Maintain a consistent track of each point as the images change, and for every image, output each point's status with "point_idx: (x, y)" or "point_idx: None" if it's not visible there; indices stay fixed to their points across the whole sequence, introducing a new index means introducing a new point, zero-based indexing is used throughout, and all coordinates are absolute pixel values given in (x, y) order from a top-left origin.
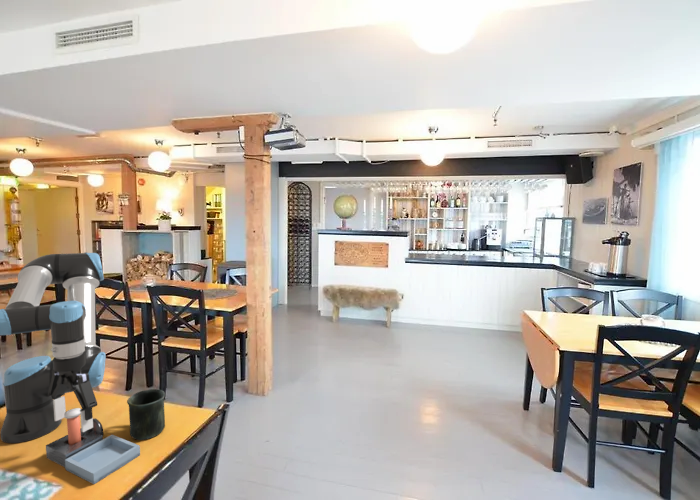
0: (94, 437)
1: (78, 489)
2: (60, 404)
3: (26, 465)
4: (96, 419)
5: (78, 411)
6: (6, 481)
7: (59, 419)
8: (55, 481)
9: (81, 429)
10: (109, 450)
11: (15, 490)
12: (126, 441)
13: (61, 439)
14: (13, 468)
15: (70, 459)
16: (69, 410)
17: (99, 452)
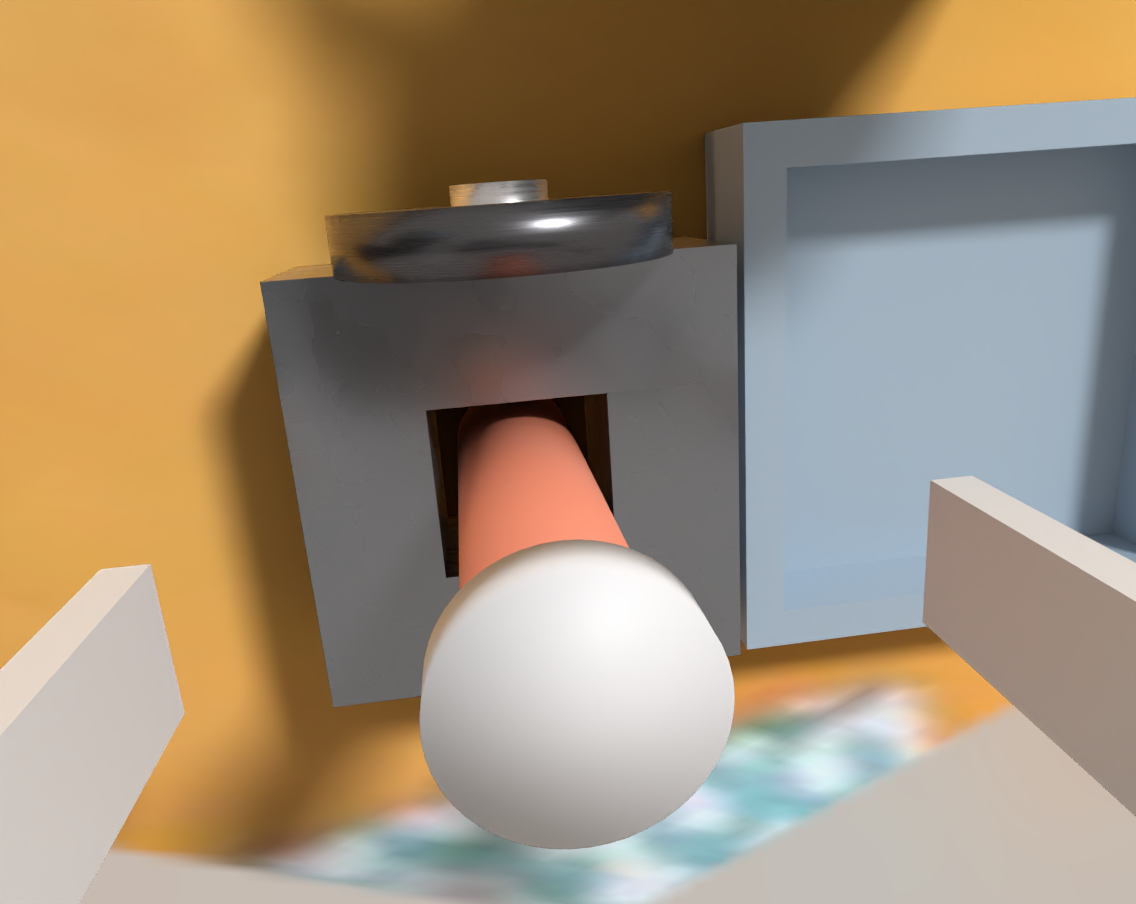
0: (687, 326)
1: None
2: (29, 840)
3: (317, 757)
4: (544, 211)
5: (683, 649)
6: (433, 894)
7: (173, 667)
8: (792, 694)
9: (945, 641)
10: (859, 254)
11: (624, 881)
12: (1059, 119)
13: (354, 566)
14: (267, 827)
15: (791, 617)
16: (448, 737)
17: (791, 330)
